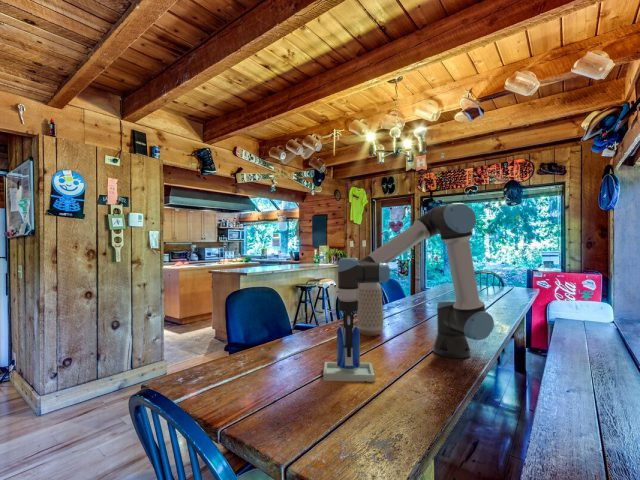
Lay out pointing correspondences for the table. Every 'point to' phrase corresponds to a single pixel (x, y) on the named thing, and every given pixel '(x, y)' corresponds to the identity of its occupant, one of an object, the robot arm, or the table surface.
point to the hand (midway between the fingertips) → (348, 360)
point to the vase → (370, 309)
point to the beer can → (342, 350)
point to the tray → (348, 373)
